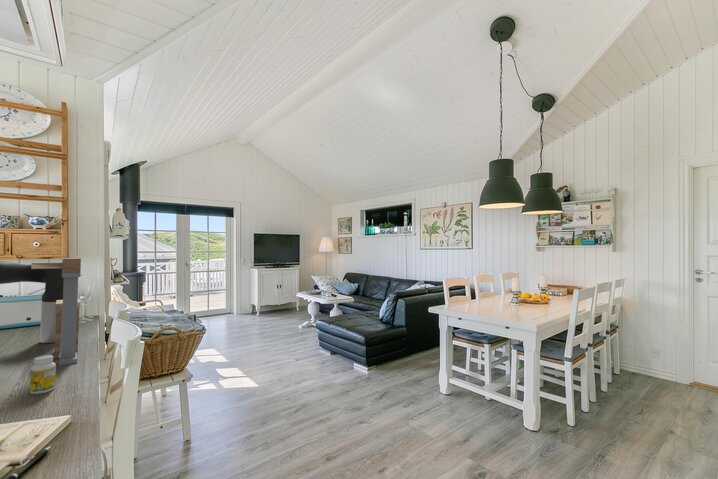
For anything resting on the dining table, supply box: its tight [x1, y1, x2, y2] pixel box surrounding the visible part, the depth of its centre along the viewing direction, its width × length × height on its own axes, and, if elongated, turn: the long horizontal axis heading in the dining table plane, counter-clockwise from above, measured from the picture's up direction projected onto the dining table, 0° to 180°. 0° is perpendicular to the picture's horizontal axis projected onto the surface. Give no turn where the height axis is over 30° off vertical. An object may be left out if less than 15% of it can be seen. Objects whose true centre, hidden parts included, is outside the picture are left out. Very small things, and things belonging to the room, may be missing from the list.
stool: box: [53, 298, 81, 359], centre depth 132 cm, size 10×7×20 cm
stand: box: [57, 272, 81, 367], centre depth 124 cm, size 10×5×32 cm, turn 40°
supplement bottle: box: [29, 354, 57, 395], centre depth 99 cm, size 5×5×10 cm
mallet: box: [31, 257, 82, 274], centre depth 122 cm, size 8×13×5 cm, turn 130°
